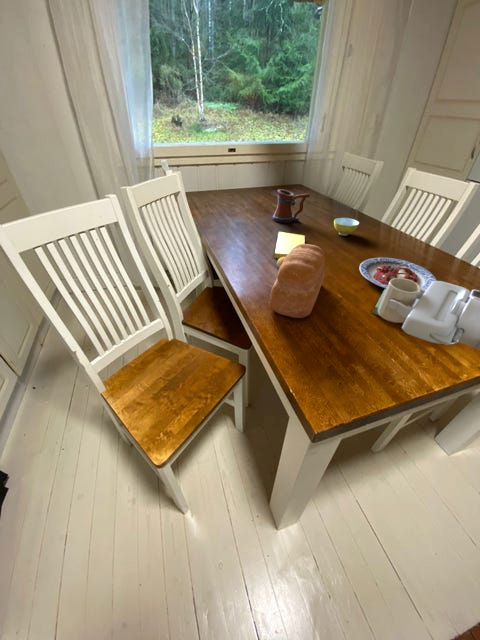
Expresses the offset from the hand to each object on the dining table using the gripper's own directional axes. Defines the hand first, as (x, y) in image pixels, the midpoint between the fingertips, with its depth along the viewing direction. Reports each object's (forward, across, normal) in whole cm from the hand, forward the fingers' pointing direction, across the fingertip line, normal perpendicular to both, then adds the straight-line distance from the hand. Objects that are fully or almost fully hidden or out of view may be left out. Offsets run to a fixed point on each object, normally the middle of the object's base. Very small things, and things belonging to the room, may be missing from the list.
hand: (395, 294), depth 61 cm
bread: (+28, +8, -17) cm, 34 cm away
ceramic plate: (+8, +42, -17) cm, 46 cm away
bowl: (+42, +70, -17) cm, 83 cm away
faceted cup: (-1, 0, -5) cm, 5 cm away
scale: (0, +22, -17) cm, 28 cm away
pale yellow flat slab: (+52, +38, -17) cm, 67 cm away
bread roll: (+42, +23, -17) cm, 51 cm away
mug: (+73, +68, -17) cm, 101 cm away
